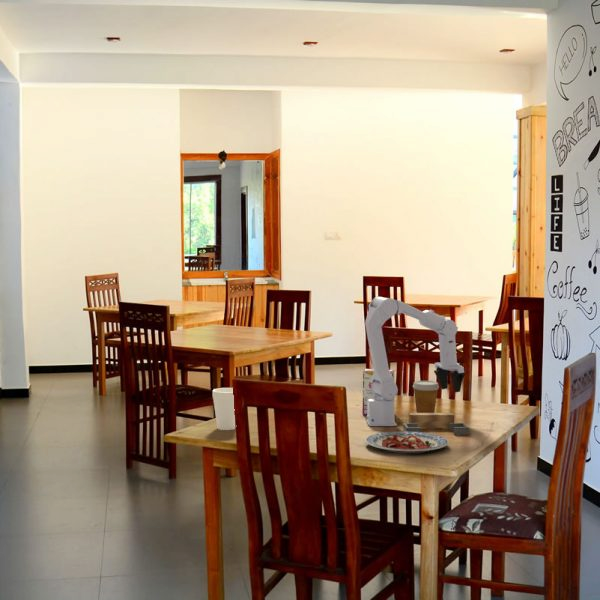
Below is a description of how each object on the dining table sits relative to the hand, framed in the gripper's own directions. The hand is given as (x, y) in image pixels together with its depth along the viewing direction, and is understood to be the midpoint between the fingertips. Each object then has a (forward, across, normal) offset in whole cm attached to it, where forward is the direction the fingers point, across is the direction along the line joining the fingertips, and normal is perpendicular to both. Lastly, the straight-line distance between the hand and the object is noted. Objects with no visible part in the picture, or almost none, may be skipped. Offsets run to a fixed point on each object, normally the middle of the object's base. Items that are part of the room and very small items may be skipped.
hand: (450, 390), depth 327 cm
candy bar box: (+9, +19, +19) cm, 29 cm away
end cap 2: (+10, -19, +12) cm, 24 cm away
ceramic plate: (+8, -27, +38) cm, 47 cm away
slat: (+9, -8, +15) cm, 19 cm away
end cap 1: (+8, -12, +25) cm, 29 cm away
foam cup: (+3, +22, +77) cm, 81 cm away
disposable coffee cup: (+10, +10, +5) cm, 15 cm away
